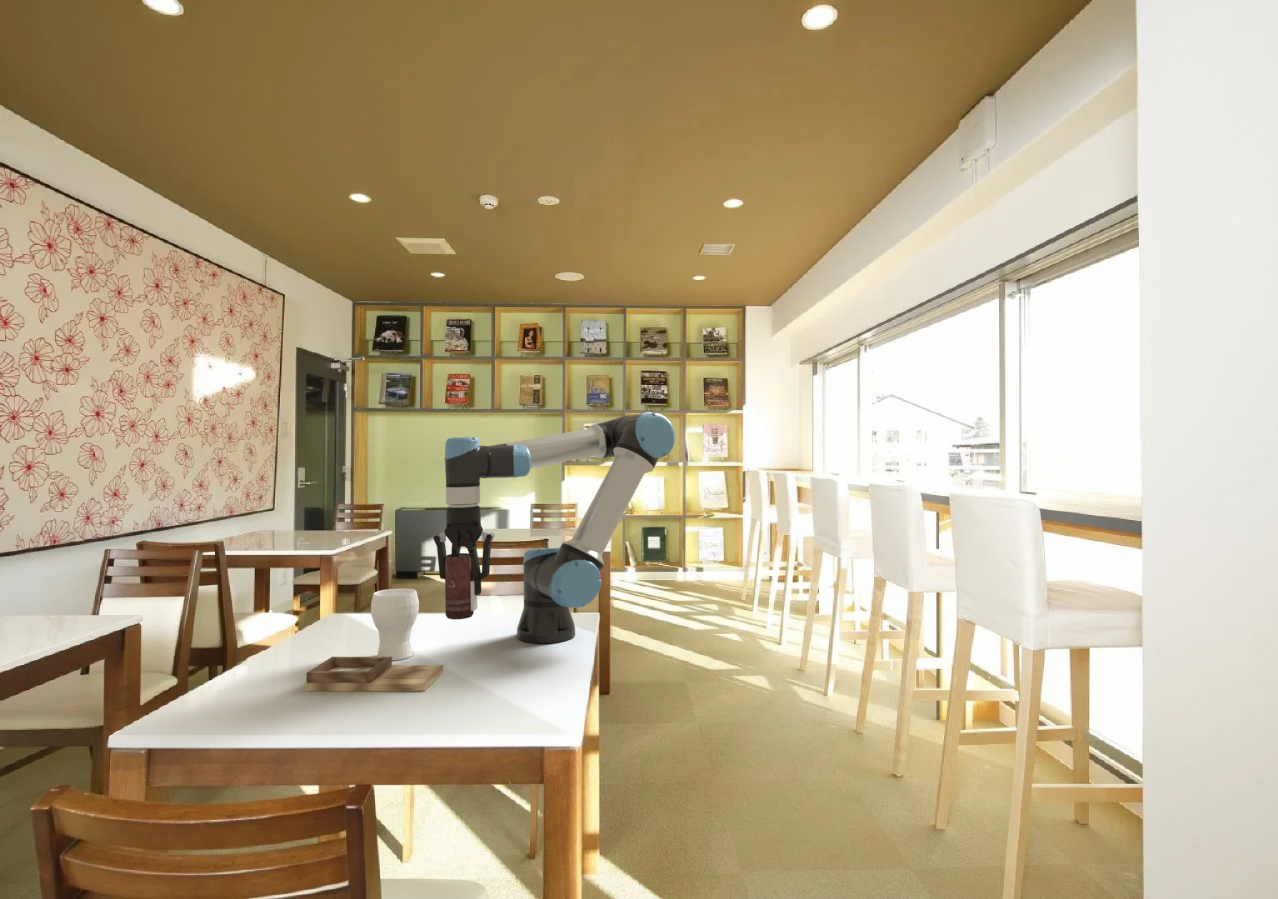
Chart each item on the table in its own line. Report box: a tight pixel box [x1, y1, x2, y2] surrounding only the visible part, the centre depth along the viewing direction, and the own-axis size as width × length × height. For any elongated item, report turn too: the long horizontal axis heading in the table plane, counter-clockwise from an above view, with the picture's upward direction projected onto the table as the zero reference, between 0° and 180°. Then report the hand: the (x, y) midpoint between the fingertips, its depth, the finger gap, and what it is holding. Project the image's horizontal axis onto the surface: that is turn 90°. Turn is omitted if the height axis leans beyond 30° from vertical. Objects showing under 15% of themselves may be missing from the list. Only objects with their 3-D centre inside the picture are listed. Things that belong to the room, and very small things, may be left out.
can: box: [444, 552, 475, 621], centre depth 151 cm, size 6×6×14 cm
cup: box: [370, 588, 420, 661], centre depth 158 cm, size 11×11×15 cm
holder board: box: [304, 656, 444, 692], centre depth 140 cm, size 24×12×4 cm, turn 89°
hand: (465, 609), depth 151 cm, fingers open, 3 cm apart
